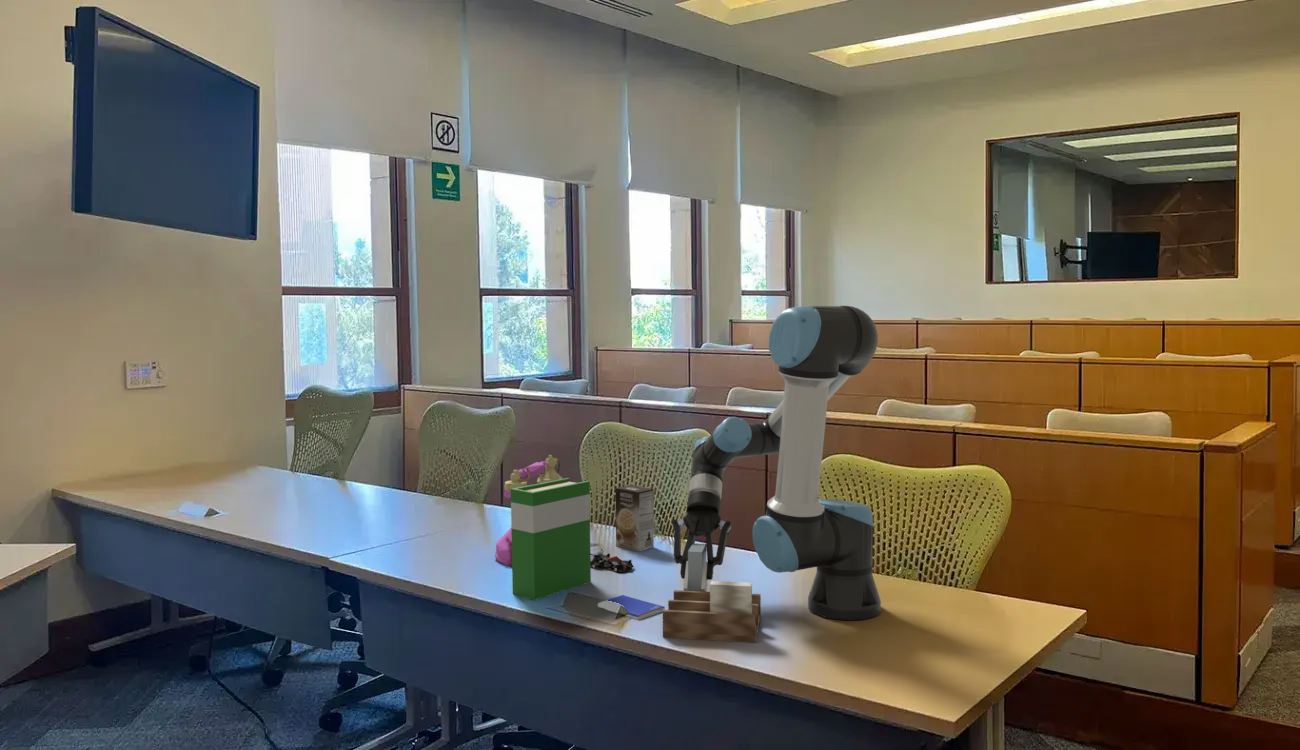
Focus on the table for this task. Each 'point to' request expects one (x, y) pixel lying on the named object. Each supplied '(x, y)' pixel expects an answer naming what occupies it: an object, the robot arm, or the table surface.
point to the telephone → (505, 542)
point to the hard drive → (637, 607)
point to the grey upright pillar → (696, 566)
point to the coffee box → (635, 517)
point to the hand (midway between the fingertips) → (694, 591)
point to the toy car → (610, 562)
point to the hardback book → (550, 537)
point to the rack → (714, 613)
